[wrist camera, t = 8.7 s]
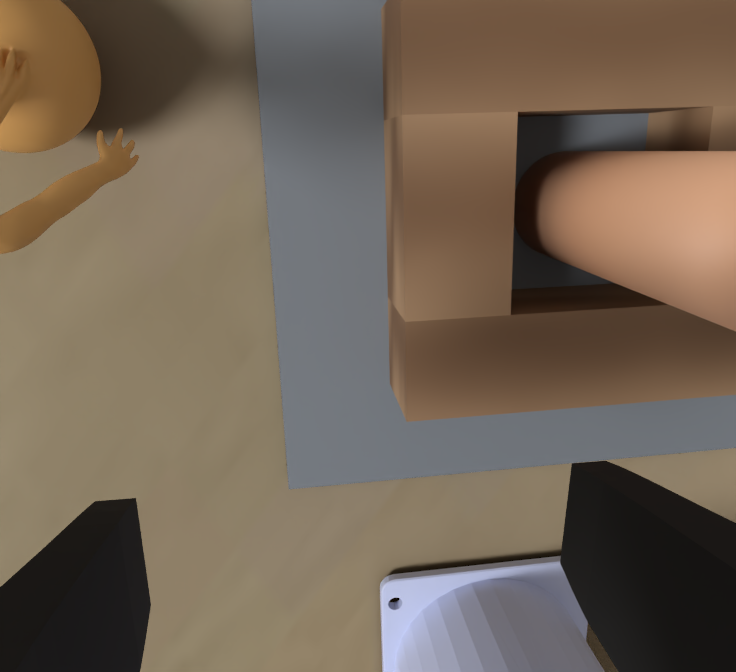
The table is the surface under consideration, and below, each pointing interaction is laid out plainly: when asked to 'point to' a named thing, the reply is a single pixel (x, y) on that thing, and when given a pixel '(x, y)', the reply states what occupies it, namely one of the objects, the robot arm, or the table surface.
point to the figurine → (50, 109)
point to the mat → (369, 274)
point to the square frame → (497, 199)
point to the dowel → (640, 222)
